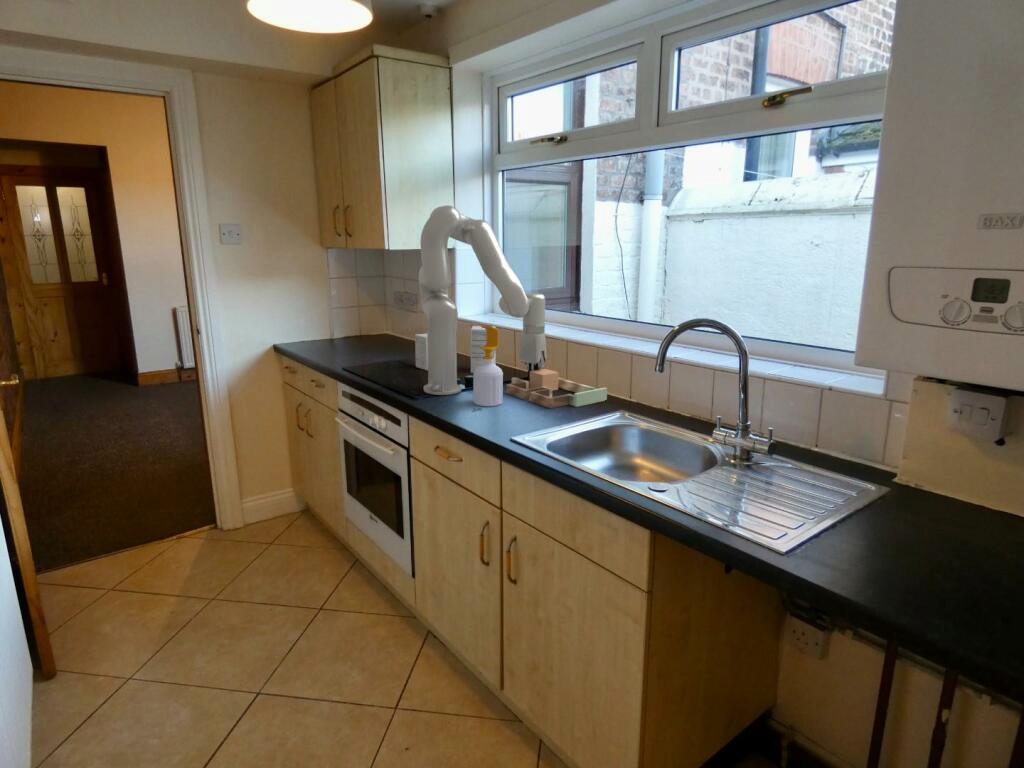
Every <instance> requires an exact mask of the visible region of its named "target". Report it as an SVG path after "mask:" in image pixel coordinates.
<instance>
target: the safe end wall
mask: <svg viewBox="0 0 1024 768" xmlns="http://www.w3.org/2000/svg"><path fill="white" fill-rule="evenodd" d="M573 393H574V394H573V395H574V406H573V407H575V408H577V407H581V406H586V405H592V404H595V403H601V402H605V400H606V401H607V399H608V387H601V388H597V389H594V390H589V391H584V392H579V393H576V392H573Z"/></svg>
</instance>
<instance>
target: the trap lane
mask: <svg viewBox="0 0 1024 768" xmlns="http://www.w3.org/2000/svg"><path fill="white" fill-rule="evenodd" d="M558 389H562V390H566V391H570V392H573V393H579V392H584V391H589V390H594V389H598V388H597V387H593V386H589V385H586V384H582V383H580V382H574V381H571V380H568V379H565V378H561V377H559V380H558ZM505 393H506V394H507V395H510V396H513V397H516V398H519V399H522V400H526V401H527V400H528V401H529V402H531V403H534V404H536V405H540V406H542V407H546V408H548V409H554V408H559V407H563V406H568V405H570V406H573V407H575V406H574V394H572V393H567V394H563V395H562V394H561V395H557V396H553V391H552V388H548V387H545V386H544V387H538V388H533V389H530V382H528V380H524V379H521V378H518V377H516V376H515V377H511V383H508V384H507V383H506V384H505Z"/></svg>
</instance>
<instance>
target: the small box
mask: <svg viewBox="0 0 1024 768" xmlns="http://www.w3.org/2000/svg"><path fill="white" fill-rule="evenodd" d="M414 340H415V341H414V343H415V344H414V346H415V367H416V368H418V369H422V370H425V371H428V345H427V333H417V334H414Z"/></svg>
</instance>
